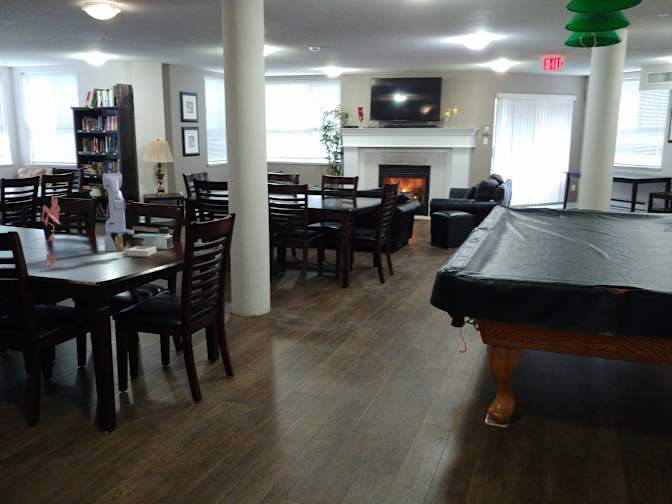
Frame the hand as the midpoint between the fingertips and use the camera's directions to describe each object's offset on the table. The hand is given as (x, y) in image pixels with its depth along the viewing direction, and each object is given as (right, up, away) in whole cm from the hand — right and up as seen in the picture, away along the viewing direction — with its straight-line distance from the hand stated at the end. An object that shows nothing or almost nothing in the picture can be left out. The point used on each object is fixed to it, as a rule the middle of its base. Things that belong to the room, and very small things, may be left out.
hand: (120, 246), depth 316 cm
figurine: (-22, -10, -22) cm, 33 cm away
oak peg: (0, -2, 0) cm, 2 cm away
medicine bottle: (+15, -1, +30) cm, 34 cm away
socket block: (+8, -4, +10) cm, 14 cm away
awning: (+9, -2, +20) cm, 22 cm away
